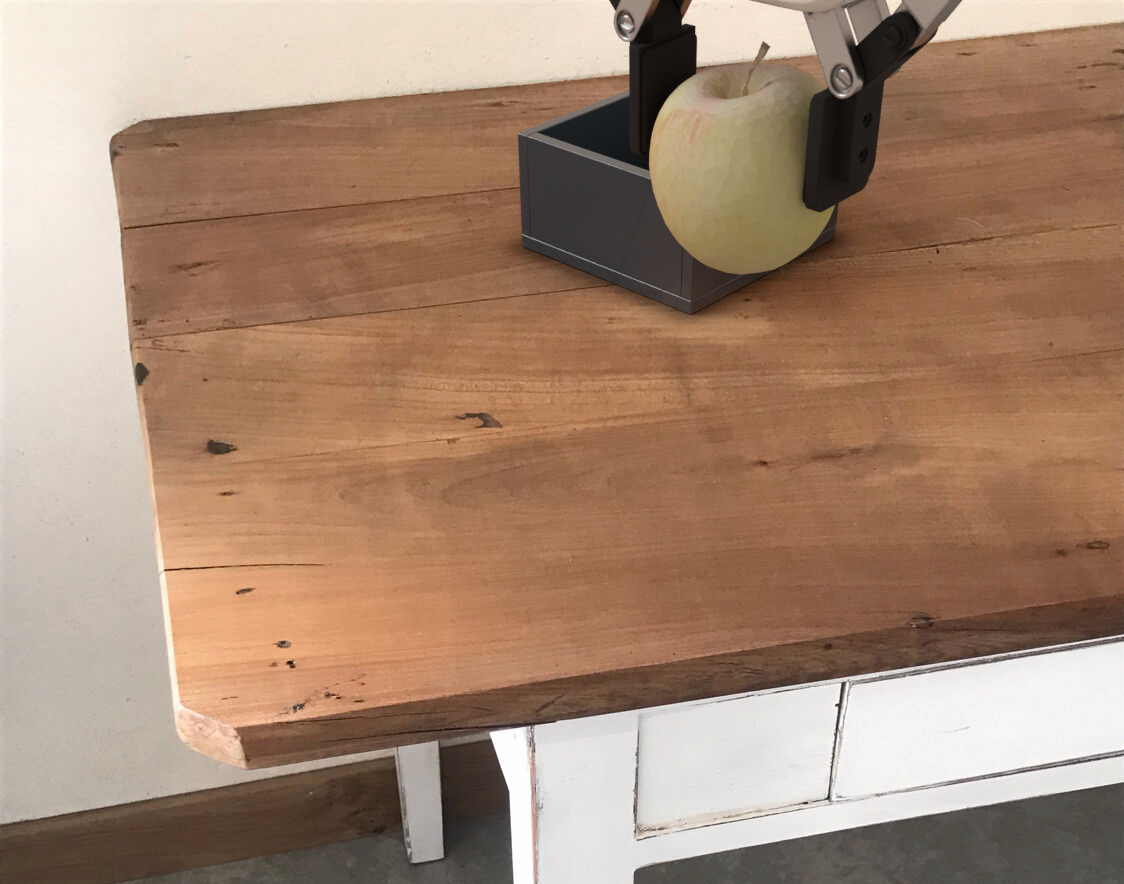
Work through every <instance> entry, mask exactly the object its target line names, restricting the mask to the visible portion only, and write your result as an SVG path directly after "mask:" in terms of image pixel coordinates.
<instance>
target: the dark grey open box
mask: <svg viewBox="0 0 1124 884" xmlns="http://www.w3.org/2000/svg"><path fill="white" fill-rule="evenodd" d="M517 152H518V175H519V196H520V197H519V198H520V199H519V201H520V218H521V219H520V221H521V222H520V223H521V246H522V248H525V249H528V250H530V251H533V252H535V253H538V254H540V255H543V256H545V257H548V258H551V259H553V260H555V261H558V262H560V263H562V264H565V265H567V266H570V267H573V268H575V269H577V270H580V271H582V272H585V273H588V274H590V275H592V276H594V277H597V278H599V279H602V280H604V281H606V282H608V283H609V282H610V283H612V284H615V285H617V286H619V287H622V288H623V289H627V290H629V291H632V292H635V293H637V294H639V295H642V296H644V297H646V298H650V299H652V300H654V301H656V302H659V303H661V304H664V305H666V306H669V307H671V308H674V309H676V310H679V311H682V312H684V313H686V314H688V315H692V314H694V313H696V312H698V311H700V310H703V309H705V308H706V307H708V306H709V305H711V304H713V303H715V302H717V301H719V300H721V299H723V298H725V297H726V296H728V295H731V294H732V293H734V292H736V291H738V290H740V289H742V288H743V287H746V286H747V285H749V284H751V283H753V282H755V281H757V280H758V279H760V278H762V277H764V276H767V275H768V274H770V273H772V272H773V271H776V270H778V269H780V268H781V267H783V266H785V265H786V264H788V263H791V262H792V261H795V260H796V259H798V258H800V257H802V256H804V255H806V254H807V253H810V252H812V251H813V250H815V249H817V248H819V247H820V246H823V245H825V244H827V243H828V242H830V241H832V240H834V239H835V237H836V231H837V230H836V229H837V221H838V213H839V204H840V203H838V204H836V205H835V207H834V209H833V212H832V214H831V217H830V219H829V221H828V223H827V224H826V226H825V227H824V229H823V231H822V232H821V234H820V235H819V236H818V238H817V239H816V240H815V242H814V243H813V244H812V245H811V246H810V247H809V248H808V249H807V250H805V251H804V252H803V253H801V254H800V255H798V256H797V257H795V258H794V259H792V260H791V261H789V262H788V263H786V264H784V265H782V266H780V267H778V268H776V269H773V270H769V271H764V272H759V273H750V274H741V275H740V274H733V273H726V272H723V271H720V270H717V269H714V268H711V267H709V266H707V265H705V264H703V263H701V262H700V261H698V260H697V259H696V258H694V257H693V256H692V255H691V254H690V253H689V252H688V251H687V250H686V249H685V248H684V247H683V246H682V245H681V244H680V243H679V242H678V241H677V240H676V239H675V237H674V236H673V235H672V233H671V231H670V230H669V228H668V227H667V225H666V224H665V221H664V219H663V217H662V214H661V212H660V210H659V207H658V204H657V201H656V198H655V195H654V192H653V187H652V182H651V177H650V168H649V155H647V156H641V155H638V154H635V153H632V152H631V150H630V114H629V89H626V90H623V91H621V92H619V93H616V94H614V95H611V96H608V97H605V98H604V99H603V98H602V99H601V100H598V101H596V102H593V103H591V104H588V105H585V106H583V107H580V108H578V109H575V110H573V111H570V112H568V113H565V114H562V115H560V116H557V117H555V118H553V119H550V120H547V121H545V122H544V121H543V122H542V123H539V124H537V125H534V126H532V127H529V128H525V129H524V130H522V131H519V132H517Z"/></svg>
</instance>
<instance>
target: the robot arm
mask: <svg viewBox="0 0 1124 884" xmlns="http://www.w3.org/2000/svg"><path fill="white" fill-rule="evenodd" d="M608 1H609V3H610V5H611V6H612V8H613V10H614V15H613V28H614V31H615V34H616V35H617V36H618V38H619V39H620V40H621V41H623V42H625V43H629V45H628V58H629V59H628V72H629V73H628V80H629V81H628V85H629V86H628V90H629V114H630V150H631V152H632V153H635V154H638V155H641V156H647V155H649V152H650V144H651V137H652V132H653V128H654V125H655V122H656V119H657V117H658V114H659V112H660V110H661V108H662V106H663V105H664V103H665V101H666V100H667V98H668V97H669V96H670V94H671V93H672V92H673V91H674V90H675V89H676V88H677V87H678V86H679V85H680V84H682V83H683V82H684V81H686V80H687V79H689V78H690V77H692V76H693V75H695V74H697V63H698V62H697V61H698V37H697V34H696V28H697V27H696V25H694V24H689V23H683V19H684V18H685V16H686V14H687V11H688V9H689V8H690V5H691V3H692V1H693V0H608ZM749 1H751V2H755V3H760V4H764V5H768V6H773V7H777V8H782V9H787V10H793V11H796V12H797V11H798V12H802V14H803V17H804V20H805V24H806V26H807V29H808V32H809V35H810V38H811V42H812V43H813V46H814V50H815V53H816V55H817V59H818V62H819V64H820V68H821V70H822V73H823V77H824V80H825V82H826V85H827V88H826V89H825V90H823V91H821V92H819V93H817V94H814V95H813V97H812V99H811V102H810V109H809V121H808V134H807V146H806V159H805V172H804V184H803V197H802V200H803V203H804V204H805V207H806V208H807V209H810V210H813V211H816V212H819V213H820V212H823V211H825V210H827V209H829V208H830V207H832V206H834V205H836V204H838V203H839V204H840V203H841V202H843V201H846V199H849V198H851V197H853V196H854V195H856V194H858V193H860V192H862V191H863V190H864V189H866V186H867V184H868V182H869V179H870V176H871V175H872V173H873V170H874V168H875V165H876V159H877V149H878V142H879V133H880V124H881V114H882V107H883V98H884V88H885V81H886V80H888V79H890V78H892V77H894V76H896V75H897V74H898V73H899V72H900V70H901V69H902V66H903V65H905V64H906V63H907V62H908V61H909V60H910V59H911V58H912V57H913V56H915V55H916V54H917V53H918V52H920V51H921V50H922V49H923V48H924V47H925V46H926V45H927V44H928V43H929V42H931V41H932V40H933V39H934V38H935V37H936V35H937V32H938V31H939V28H940V26H941V25H942V24H943V23H944V22H946V21H947V20H948V19H949V17H950V16H951V15H952V14H953V13H954V12H955V10H956V9H957V8H958V7H959V5H960V4H961V3H962V1H963V0H901V3H900V4H899V5H898V6H897V8H896V9H895V10H894V12H893V13H891V11H890V8H889V6H888V5H889V4H888V2H887V0H749ZM846 11H847V12H846ZM847 14H848V16H847ZM848 17H849V18H848ZM849 21H850V22H849ZM850 23H851V25H850ZM851 26H852V28H851ZM852 29H853V31H852ZM853 33H854V34H853ZM854 35H855V37H854ZM855 39H856V40H855ZM856 42H857V43H856Z"/></svg>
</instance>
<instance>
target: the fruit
mask: <svg viewBox="0 0 1124 884" xmlns="http://www.w3.org/2000/svg"><path fill="white" fill-rule="evenodd" d="M770 48H771V46H770V44H768V43H767V42H765V41H764V40H762V42H761V44H760V47H759V49H758V52H757V55H756V57H754V60H753V62H752V63H730V64H723V65H718V66H715V67H710V68H707V69H704V70H702V71H699V72H696V74H695V75H693V76H692V77H690V78H689V79H687V80H686V81H684V82H683V83H682V84H680V85H679V86H678V87H677V88H676V89H675V90H674V91H673V92H672V93H671V94H670V96H669V97H668V98H667V100H666V101H665V103H664V105H663V106H662V108H661V110H660V112H659V114H658V117H657V119H656V122H655V125H654V128H653V132H652V137H651V144H650V152H649V168H650V177H651V182H652V187H653V192H654V195H655V198H656V201H657V204H658V207H659V210H660V212H661V214H662V217H663V219H664V221H665V224H666V225H667V227H668V228H669V230H670V231H671V233H672V235H673V236H674V237H675V239H676V240H677V241H678V242H679V243H680V244H681V245H682V246H683V247H684V248H685V249H686V250H687V251H688V252H689V253H690V254H691V255H692V256H693V257H694V258H696V259H697V260H698V261H700V262H701V263H703V264H705V265H707V266H709V267H711V268H714V269H717V270H720V271H723V272H726V273H733V274H740V275H741V274H750V273H759V272H764V271H769V270H773V269H775V270H777V269H779V268H781V267H783V266H785V265H786V263H787V264H788V262H789V261H791V260H792V259H794V258H795V257H797V256H798V255H800V254H801V253H803V252H804V251H805V250H807V249H808V248H809V247H810V246H811V245H812V244H813V243H814V242H815V240H816V239H817V238H818V236H819V235H820V234H821V232H822V231H823V229H824V227H825V226H826V224H827V223H828V221H829V219H830V217H831V214H832V212H833V209H834V207H835V205H834V206H832V207H830V208H829V209H827V210H825V211H823V212H820V213H819V212H816V211H813V210H810V209H807V208H806V207H805V204H804V203H803V200H802V197H803V184H804V172H805V159H806V146H807V134H808V121H809V109H810V102H811V99H812V97H813V95H814V94H817V93H819V92H821V91H823V90H825V89H827V88H826V87H825V86H824V84H823V83H822V82H821V81H820V80H819V79H817V78H816V76H814V75H813V74H811V73H810V72H809V71H807V70H805V69H802V68H801V67H798V66H795V65H790V64H781V63H774V62H773V63H761V61H762V60H763V59H764V58H765V57H766V56H767V54H768V51H769V50H770ZM794 260H795V259H794ZM792 261H793V260H792ZM792 261H791V262H792ZM789 263H790V262H789ZM784 264H785V265H784ZM782 265H783V266H782ZM780 266H781V267H780ZM778 267H779V268H778ZM776 268H777V269H776Z"/></svg>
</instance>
